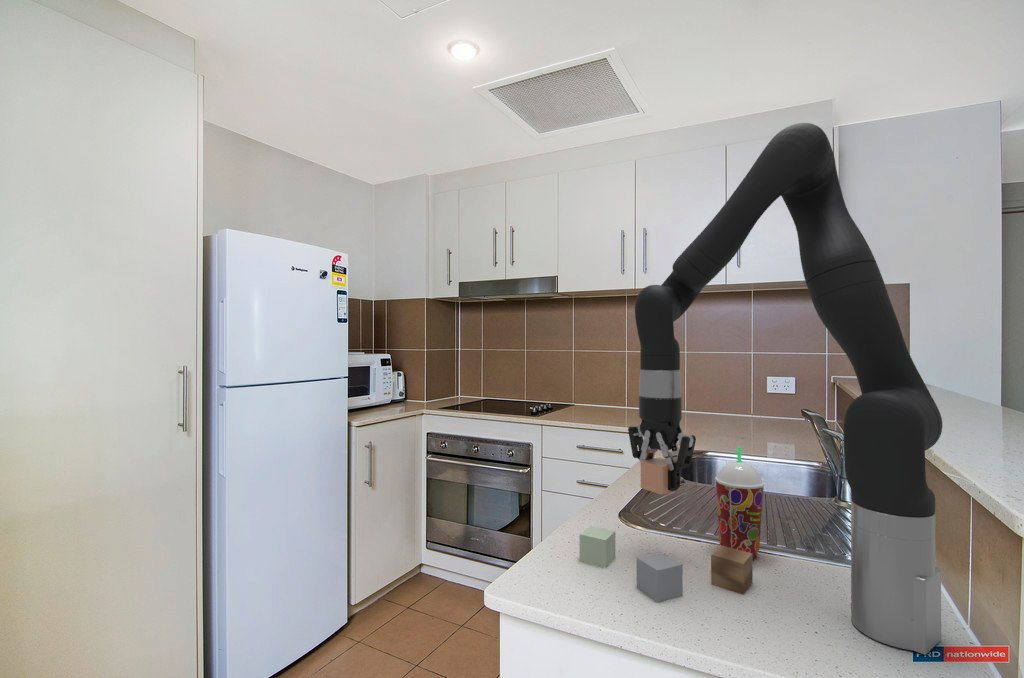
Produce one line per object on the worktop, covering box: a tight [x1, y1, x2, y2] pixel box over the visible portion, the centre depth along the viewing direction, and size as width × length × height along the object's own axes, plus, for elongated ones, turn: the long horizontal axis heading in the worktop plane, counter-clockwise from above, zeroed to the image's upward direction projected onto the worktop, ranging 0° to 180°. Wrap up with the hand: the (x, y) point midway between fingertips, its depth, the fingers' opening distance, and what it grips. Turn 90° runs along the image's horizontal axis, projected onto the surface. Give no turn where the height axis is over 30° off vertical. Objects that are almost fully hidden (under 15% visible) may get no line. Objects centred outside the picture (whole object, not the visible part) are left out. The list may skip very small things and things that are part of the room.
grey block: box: [636, 551, 684, 603], centre depth 79 cm, size 5×5×5 cm
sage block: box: [579, 525, 616, 569], centre depth 90 cm, size 5×5×5 cm
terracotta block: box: [640, 456, 682, 496], centre depth 91 cm, size 5×5×5 cm
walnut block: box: [710, 545, 754, 596], centre depth 81 cm, size 5×5×5 cm
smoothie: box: [714, 446, 765, 559], centre depth 93 cm, size 8×8×20 cm
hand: (660, 486), depth 91 cm, fingers closed on terracotta block, 5 cm apart
